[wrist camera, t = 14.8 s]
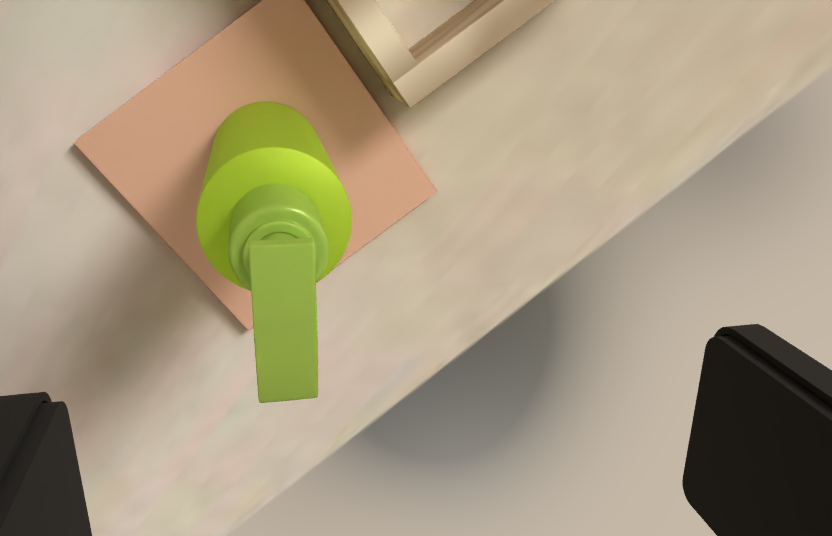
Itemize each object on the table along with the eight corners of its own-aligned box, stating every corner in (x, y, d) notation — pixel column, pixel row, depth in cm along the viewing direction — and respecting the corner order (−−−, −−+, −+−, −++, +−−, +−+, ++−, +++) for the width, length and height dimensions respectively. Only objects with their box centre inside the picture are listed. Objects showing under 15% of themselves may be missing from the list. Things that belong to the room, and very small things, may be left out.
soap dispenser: (218, 226, 40) (191, 418, 22) (208, 101, 37) (169, 197, 19) (323, 222, 41) (382, 400, 23) (320, 100, 39) (382, 190, 20)
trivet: (76, 140, 37) (73, 142, 37) (289, -21, 37) (289, -21, 36) (248, 326, 43) (248, 330, 42) (435, 188, 43) (437, 191, 42)
